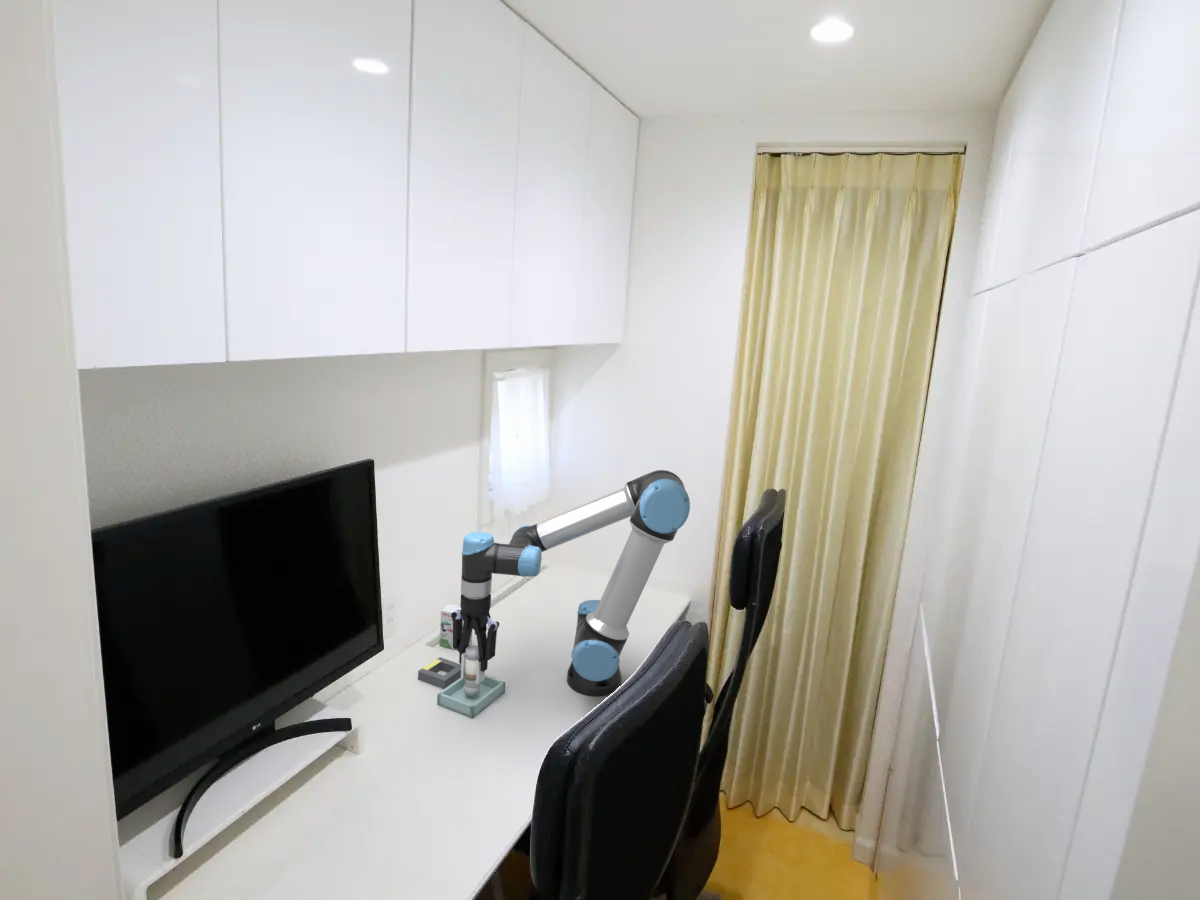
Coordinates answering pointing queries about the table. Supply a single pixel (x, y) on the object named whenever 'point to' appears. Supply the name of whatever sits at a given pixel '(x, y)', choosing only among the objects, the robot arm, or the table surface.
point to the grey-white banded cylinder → (471, 671)
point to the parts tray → (466, 704)
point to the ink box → (448, 626)
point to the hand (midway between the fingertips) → (472, 678)
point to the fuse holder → (441, 681)
